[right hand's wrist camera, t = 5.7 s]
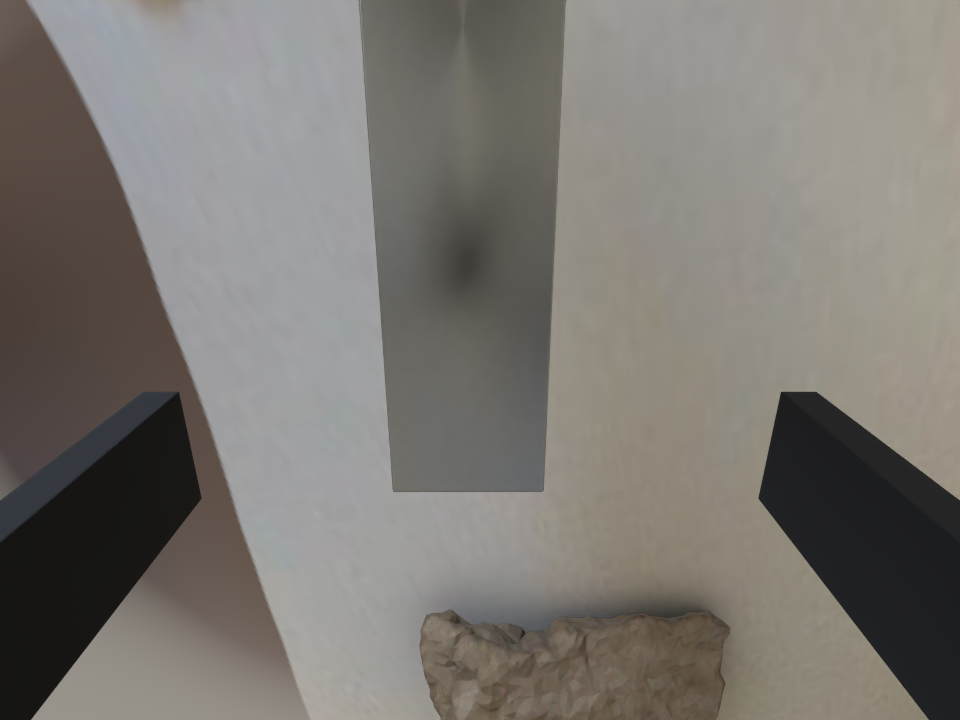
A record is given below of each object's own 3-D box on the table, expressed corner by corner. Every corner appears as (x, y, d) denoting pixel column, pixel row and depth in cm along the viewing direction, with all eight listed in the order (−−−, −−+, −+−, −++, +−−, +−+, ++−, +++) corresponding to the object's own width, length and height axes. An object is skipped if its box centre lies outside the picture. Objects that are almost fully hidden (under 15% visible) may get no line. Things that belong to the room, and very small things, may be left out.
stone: (417, 782, 42) (422, 864, 36) (417, 594, 40) (423, 649, 34) (681, 747, 45) (726, 817, 40) (694, 573, 43) (743, 620, 37)
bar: (524, 381, 25) (543, 492, 17) (420, 381, 25) (392, 492, 17) (546, -420, 16) (608, -953, 8) (385, -419, 16) (292, -950, 8)
